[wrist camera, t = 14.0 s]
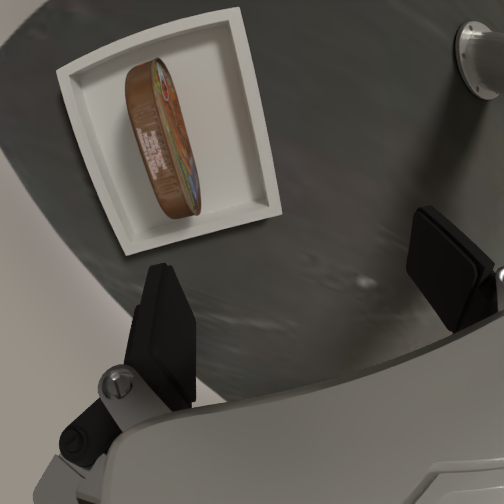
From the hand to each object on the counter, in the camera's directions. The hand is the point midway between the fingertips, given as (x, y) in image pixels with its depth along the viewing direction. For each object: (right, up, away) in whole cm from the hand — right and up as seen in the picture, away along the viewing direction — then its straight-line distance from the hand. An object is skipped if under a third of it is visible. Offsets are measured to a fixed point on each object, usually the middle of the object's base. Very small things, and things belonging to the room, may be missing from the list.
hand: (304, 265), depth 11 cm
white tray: (-10, +13, +17) cm, 24 cm away
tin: (-10, +13, +17) cm, 23 cm away
